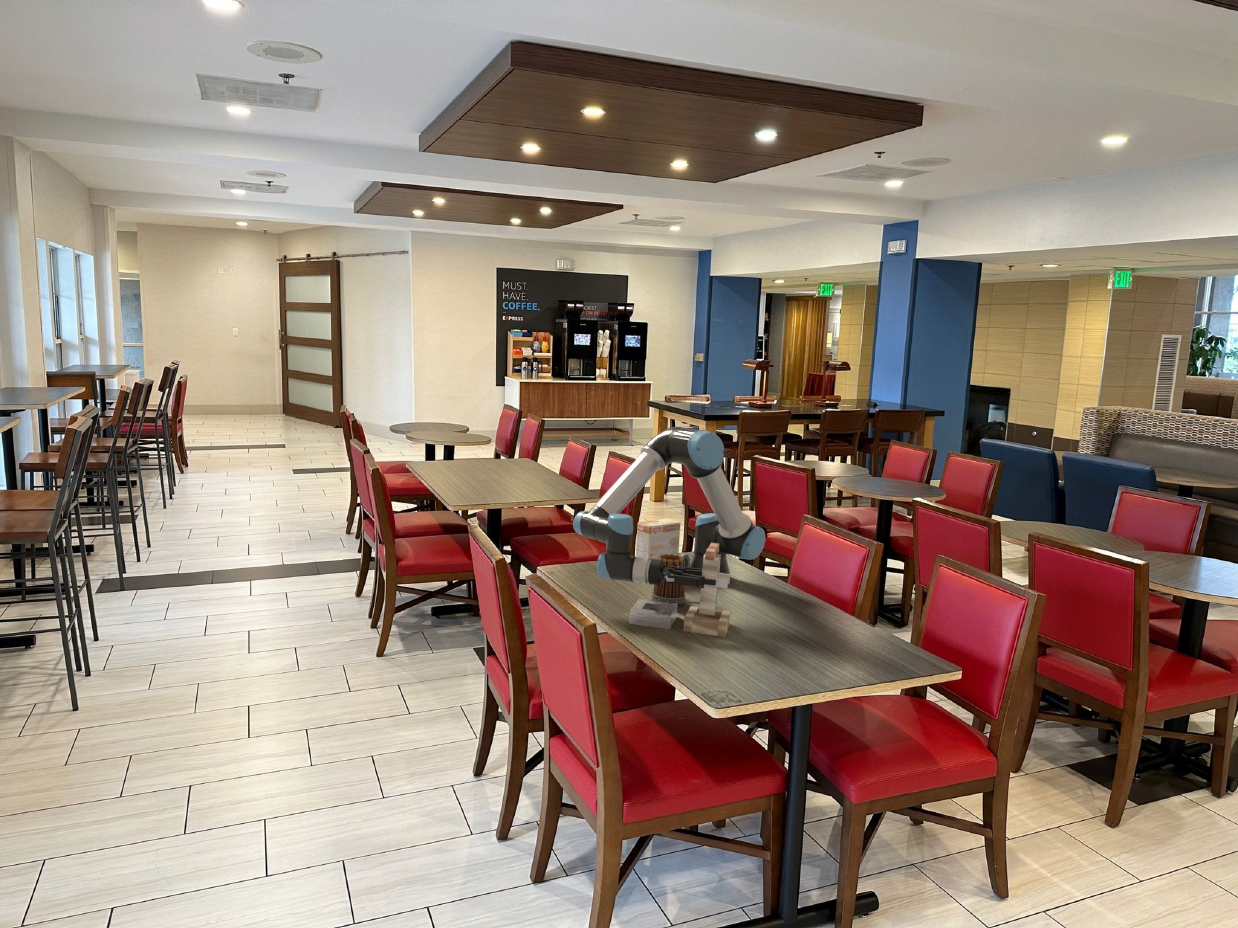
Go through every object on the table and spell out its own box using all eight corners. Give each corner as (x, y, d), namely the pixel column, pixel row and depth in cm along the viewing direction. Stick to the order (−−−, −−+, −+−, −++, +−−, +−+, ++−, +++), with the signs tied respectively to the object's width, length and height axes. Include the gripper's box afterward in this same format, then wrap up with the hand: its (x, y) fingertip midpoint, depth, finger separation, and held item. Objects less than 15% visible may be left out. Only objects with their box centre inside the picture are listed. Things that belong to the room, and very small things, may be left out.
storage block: (689, 618, 250) (690, 605, 250) (729, 623, 248) (730, 610, 247) (683, 631, 239) (684, 617, 238) (725, 636, 236) (726, 623, 235)
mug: (672, 610, 257) (676, 563, 255) (644, 602, 264) (647, 556, 261) (699, 600, 270) (702, 555, 268) (672, 592, 276) (675, 548, 274)
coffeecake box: (664, 570, 304) (668, 518, 301) (677, 575, 298) (681, 521, 295) (633, 575, 294) (636, 521, 291) (646, 580, 289) (650, 525, 286)
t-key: (702, 605, 249) (707, 542, 246) (717, 607, 248) (722, 543, 245) (697, 617, 237) (702, 550, 234) (712, 619, 236) (717, 552, 233)
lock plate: (638, 611, 254) (638, 598, 253) (676, 616, 251) (677, 604, 251) (629, 623, 242) (630, 610, 242) (669, 629, 240) (670, 615, 239)
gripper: (654, 576, 254) (730, 586, 249) (642, 591, 237) (724, 602, 232) (656, 552, 253) (733, 561, 248) (644, 565, 236) (726, 575, 231)
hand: (728, 581), depth 240 cm, fingers closed on t-key, 4 cm apart
